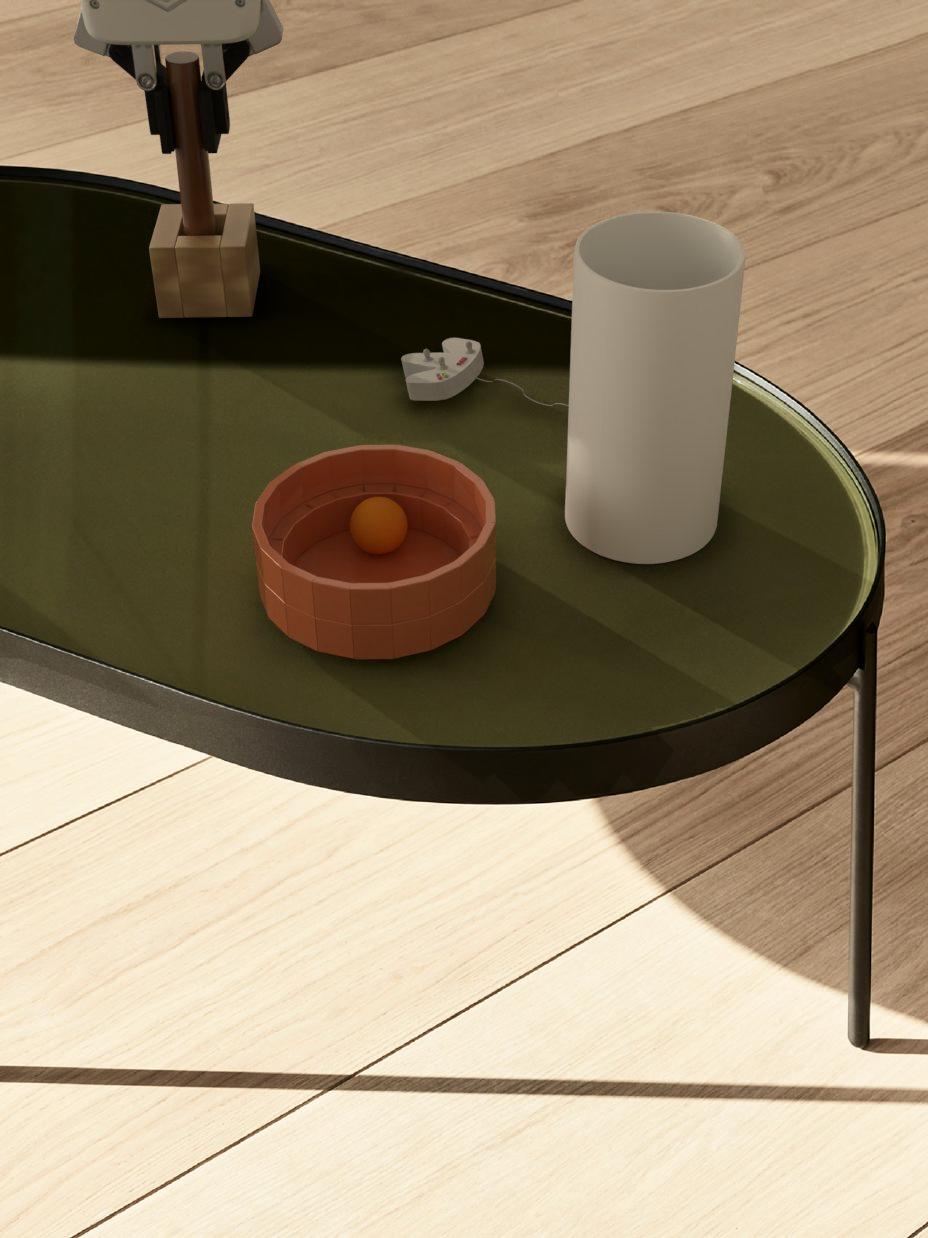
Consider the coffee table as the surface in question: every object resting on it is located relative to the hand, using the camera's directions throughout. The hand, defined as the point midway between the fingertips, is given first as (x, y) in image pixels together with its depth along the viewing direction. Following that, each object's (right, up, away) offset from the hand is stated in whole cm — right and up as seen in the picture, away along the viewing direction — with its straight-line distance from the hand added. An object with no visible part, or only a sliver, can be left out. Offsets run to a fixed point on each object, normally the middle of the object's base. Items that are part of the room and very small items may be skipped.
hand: (192, 142), depth 103 cm
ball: (+12, -25, -16) cm, 32 cm away
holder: (0, -8, +7) cm, 11 cm away
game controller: (+18, -16, -3) cm, 25 cm away
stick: (0, -8, +7) cm, 11 cm away
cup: (+26, -24, -12) cm, 38 cm away
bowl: (+12, -28, -17) cm, 35 cm away
